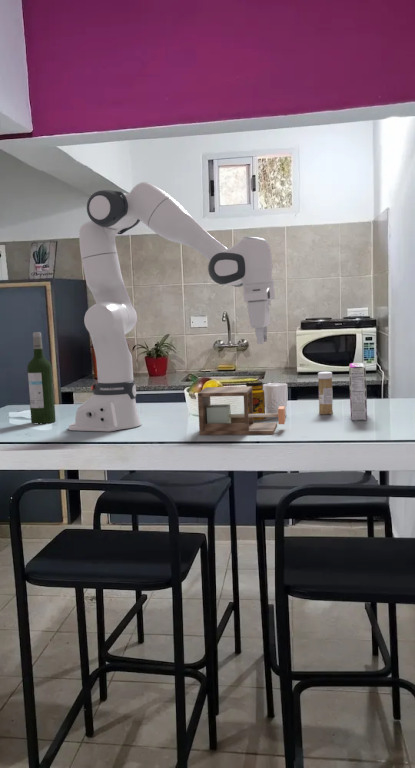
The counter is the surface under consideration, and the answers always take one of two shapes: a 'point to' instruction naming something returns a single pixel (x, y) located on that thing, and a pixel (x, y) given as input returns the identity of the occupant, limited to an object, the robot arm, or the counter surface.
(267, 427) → the shelf
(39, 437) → the counter surface
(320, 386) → the sprinkles bottle
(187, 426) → the counter surface
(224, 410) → the mallet
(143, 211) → the robot arm
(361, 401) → the candy bar box
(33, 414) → the wine bottle
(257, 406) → the condiment
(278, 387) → the white cup
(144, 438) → the counter surface
